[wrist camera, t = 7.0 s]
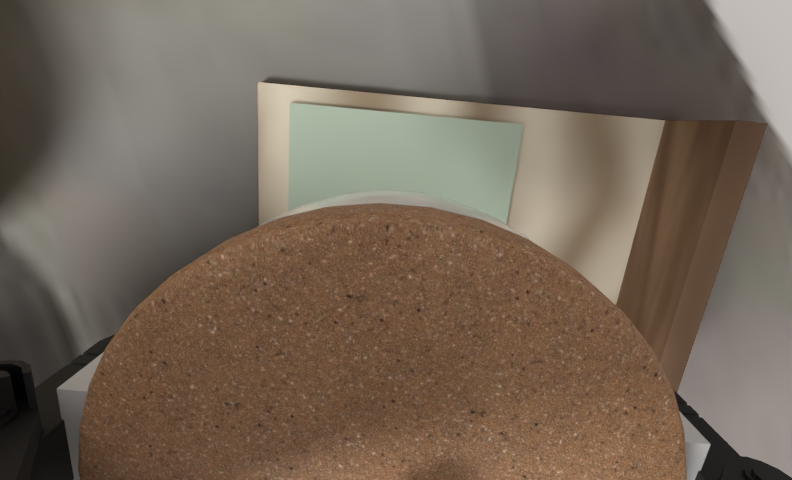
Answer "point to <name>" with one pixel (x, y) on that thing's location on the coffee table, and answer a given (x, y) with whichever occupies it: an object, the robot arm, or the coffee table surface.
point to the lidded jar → (380, 359)
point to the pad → (401, 156)
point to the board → (534, 176)
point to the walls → (685, 232)
